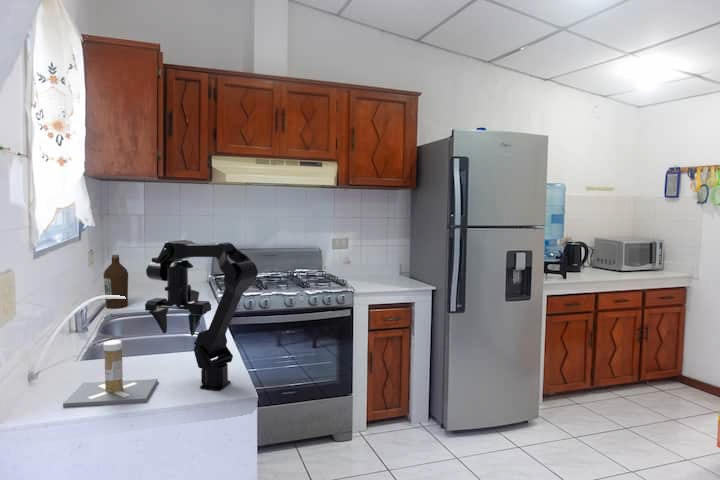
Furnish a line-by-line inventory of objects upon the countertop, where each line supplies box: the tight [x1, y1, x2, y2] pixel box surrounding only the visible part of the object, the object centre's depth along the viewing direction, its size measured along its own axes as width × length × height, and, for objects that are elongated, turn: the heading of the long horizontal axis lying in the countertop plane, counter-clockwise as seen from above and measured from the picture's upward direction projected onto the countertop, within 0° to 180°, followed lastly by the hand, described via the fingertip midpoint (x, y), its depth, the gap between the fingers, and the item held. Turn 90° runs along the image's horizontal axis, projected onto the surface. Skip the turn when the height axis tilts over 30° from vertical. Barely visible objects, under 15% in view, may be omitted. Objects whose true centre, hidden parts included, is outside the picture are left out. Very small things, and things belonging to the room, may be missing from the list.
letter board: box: [62, 378, 159, 408], centre depth 134 cm, size 20×14×1 cm
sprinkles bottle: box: [103, 339, 124, 392], centre depth 134 cm, size 5×5×13 cm
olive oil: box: [103, 254, 129, 310], centre depth 236 cm, size 11×11×25 cm
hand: (178, 334), depth 147 cm, fingers open, 9 cm apart
